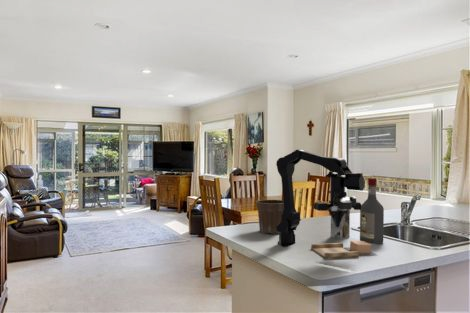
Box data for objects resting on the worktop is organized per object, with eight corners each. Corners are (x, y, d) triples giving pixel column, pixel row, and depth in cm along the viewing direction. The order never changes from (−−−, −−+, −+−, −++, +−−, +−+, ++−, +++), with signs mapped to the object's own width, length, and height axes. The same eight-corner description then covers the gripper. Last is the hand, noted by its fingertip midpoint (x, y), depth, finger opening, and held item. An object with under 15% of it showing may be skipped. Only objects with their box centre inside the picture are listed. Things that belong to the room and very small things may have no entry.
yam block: (357, 253, 142) (357, 244, 142) (349, 249, 148) (350, 240, 148) (370, 253, 143) (371, 244, 143) (362, 249, 149) (363, 241, 149)
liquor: (372, 239, 171) (372, 177, 170) (386, 243, 162) (387, 179, 162) (357, 240, 167) (357, 178, 167) (370, 245, 159) (371, 179, 159)
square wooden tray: (325, 261, 135) (325, 253, 135) (311, 251, 149) (311, 244, 149) (358, 259, 138) (358, 251, 138) (341, 249, 152) (342, 242, 151)
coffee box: (337, 235, 178) (337, 203, 178) (349, 237, 174) (350, 205, 174) (329, 238, 171) (330, 205, 171) (342, 240, 167) (343, 207, 167)
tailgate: (355, 257, 139) (356, 254, 139) (342, 249, 150) (342, 247, 150) (377, 257, 141) (377, 255, 141) (363, 250, 152) (363, 247, 152)
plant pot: (249, 231, 185) (249, 201, 185) (268, 227, 197) (269, 198, 197) (273, 237, 174) (273, 204, 174) (292, 232, 185) (292, 201, 185)
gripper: (324, 191, 134) (324, 232, 134) (369, 190, 137) (369, 230, 137) (313, 188, 145) (312, 226, 145) (354, 187, 148) (354, 224, 148)
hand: (337, 227), depth 143 cm, fingers closed
